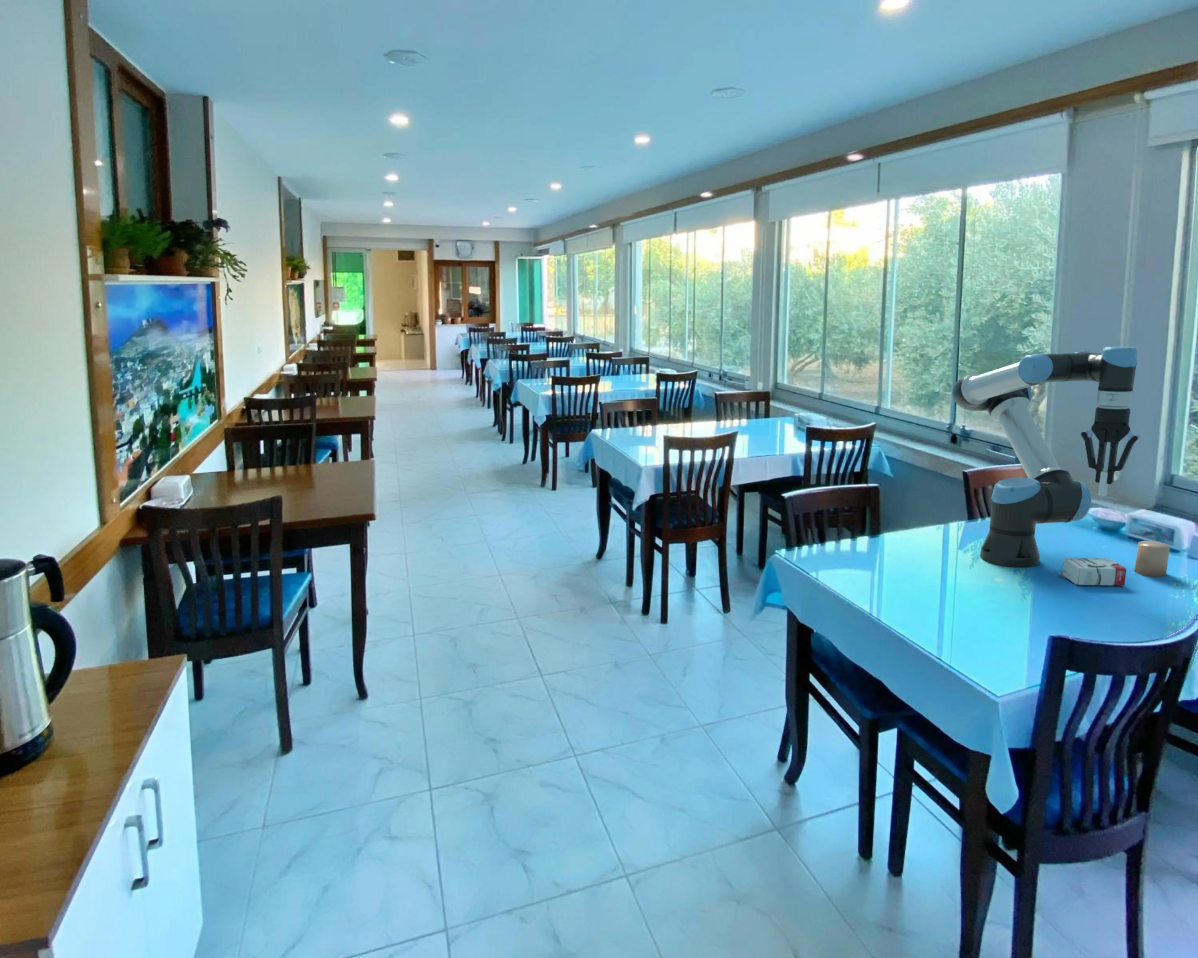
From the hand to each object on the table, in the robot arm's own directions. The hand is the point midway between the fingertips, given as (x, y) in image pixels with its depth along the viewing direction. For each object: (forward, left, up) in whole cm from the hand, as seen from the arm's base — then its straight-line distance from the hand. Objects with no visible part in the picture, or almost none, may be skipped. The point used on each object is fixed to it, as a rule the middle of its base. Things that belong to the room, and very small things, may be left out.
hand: (1102, 495), depth 204 cm
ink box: (+6, -1, -20) cm, 21 cm away
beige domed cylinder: (+11, +12, -23) cm, 28 cm away
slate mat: (0, 0, -22) cm, 22 cm away
